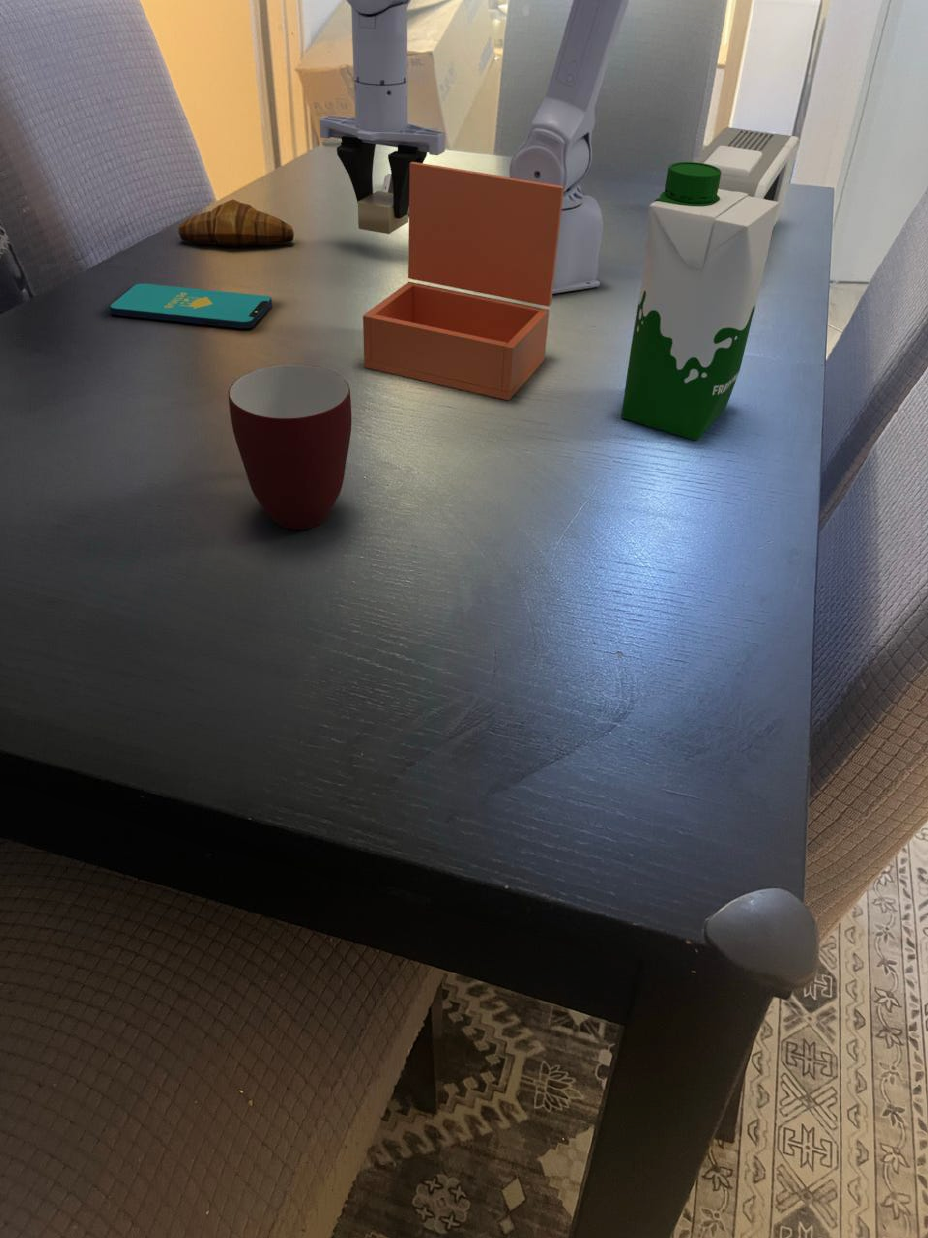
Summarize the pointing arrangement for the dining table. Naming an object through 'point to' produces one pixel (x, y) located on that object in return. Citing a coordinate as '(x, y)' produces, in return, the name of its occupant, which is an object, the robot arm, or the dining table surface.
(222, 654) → the dining table surface
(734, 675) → the dining table surface
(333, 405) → the mug
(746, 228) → the milk carton
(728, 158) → the alarm clock
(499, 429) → the dining table surface
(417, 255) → the case cover
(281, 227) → the croissant
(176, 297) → the smartphone
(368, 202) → the block
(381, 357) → the case
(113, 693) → the dining table surface
